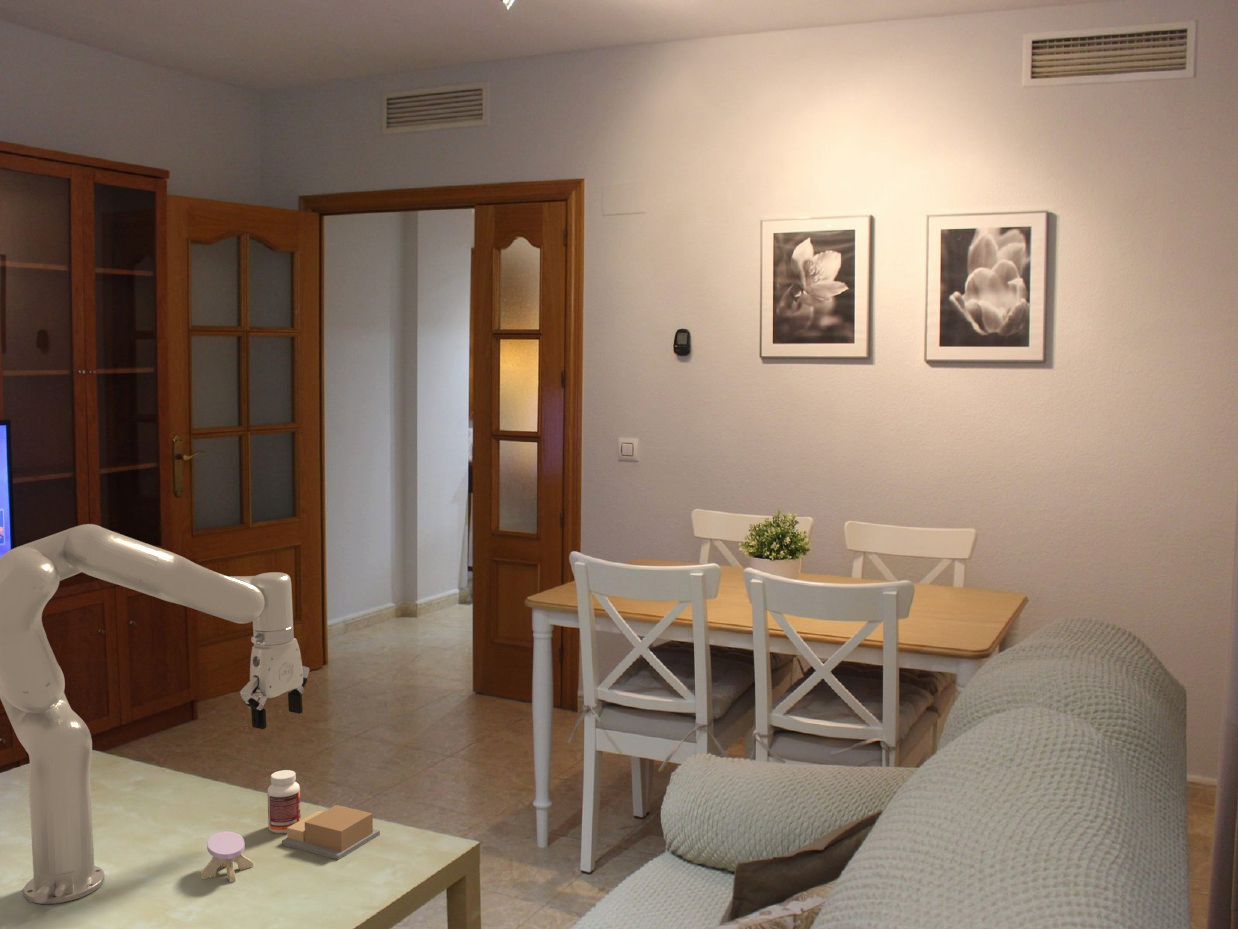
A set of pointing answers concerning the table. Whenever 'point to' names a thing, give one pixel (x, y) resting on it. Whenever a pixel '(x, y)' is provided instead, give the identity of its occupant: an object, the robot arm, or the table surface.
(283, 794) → the pill bottle
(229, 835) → the toy table
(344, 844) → the stand
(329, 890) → the table surface
